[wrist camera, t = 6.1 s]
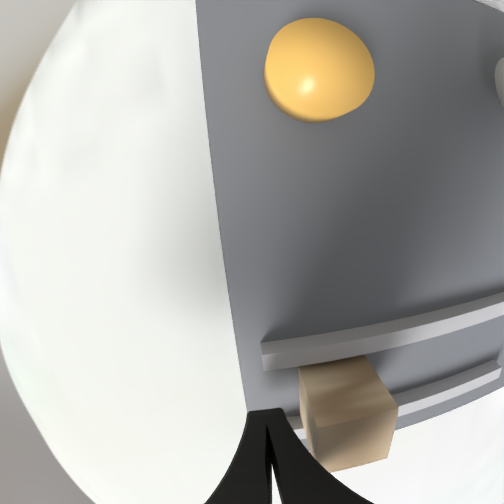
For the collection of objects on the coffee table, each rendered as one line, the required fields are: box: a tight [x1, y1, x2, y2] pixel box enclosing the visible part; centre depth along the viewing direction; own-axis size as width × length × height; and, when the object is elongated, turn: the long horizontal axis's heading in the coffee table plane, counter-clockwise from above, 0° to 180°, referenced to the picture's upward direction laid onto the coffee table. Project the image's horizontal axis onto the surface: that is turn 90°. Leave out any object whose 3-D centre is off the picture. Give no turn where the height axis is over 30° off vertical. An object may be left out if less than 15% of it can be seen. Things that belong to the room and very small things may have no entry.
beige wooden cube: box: [298, 354, 399, 473], centre depth 12 cm, size 3×3×4 cm
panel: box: [196, 0, 504, 451], centre depth 13 cm, size 18×24×2 cm
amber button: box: [263, 18, 375, 123], centre depth 10 cm, size 4×4×2 cm
